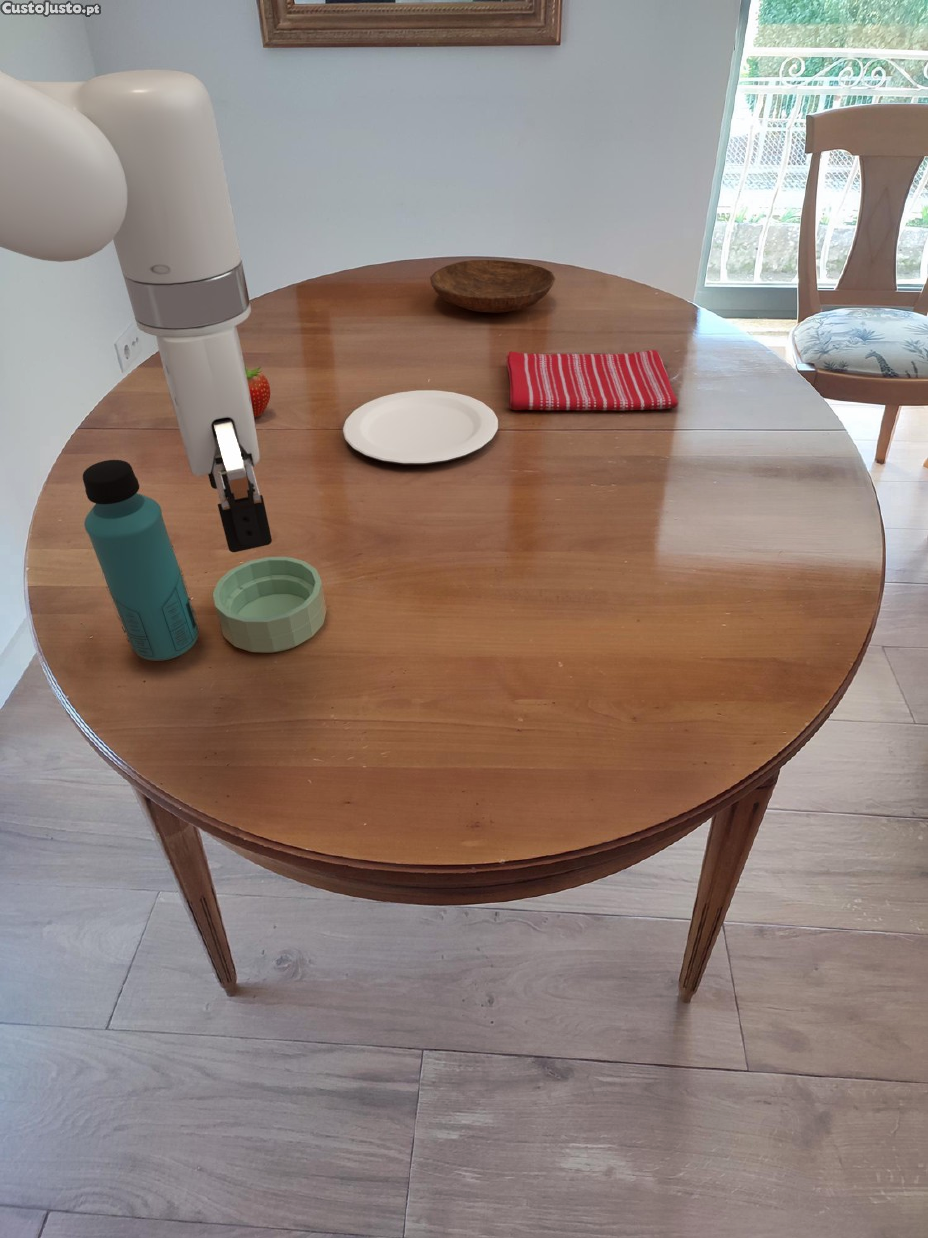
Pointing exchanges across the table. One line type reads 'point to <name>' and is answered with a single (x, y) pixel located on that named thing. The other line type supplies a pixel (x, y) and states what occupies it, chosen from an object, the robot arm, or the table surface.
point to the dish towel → (589, 382)
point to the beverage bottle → (138, 563)
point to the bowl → (492, 285)
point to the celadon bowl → (270, 604)
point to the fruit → (258, 391)
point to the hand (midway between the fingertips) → (240, 513)
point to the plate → (420, 427)
